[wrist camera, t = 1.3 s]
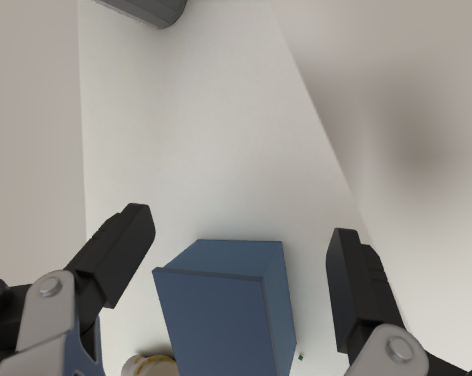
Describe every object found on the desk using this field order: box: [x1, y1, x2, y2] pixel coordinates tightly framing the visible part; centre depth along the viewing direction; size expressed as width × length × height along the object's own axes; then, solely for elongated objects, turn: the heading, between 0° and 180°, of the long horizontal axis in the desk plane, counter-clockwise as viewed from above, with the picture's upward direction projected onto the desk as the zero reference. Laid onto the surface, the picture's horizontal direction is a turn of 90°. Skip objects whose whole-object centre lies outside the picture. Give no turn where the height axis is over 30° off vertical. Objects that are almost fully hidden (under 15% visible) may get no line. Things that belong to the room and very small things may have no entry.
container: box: [152, 240, 297, 376], centre depth 25 cm, size 13×11×7 cm
